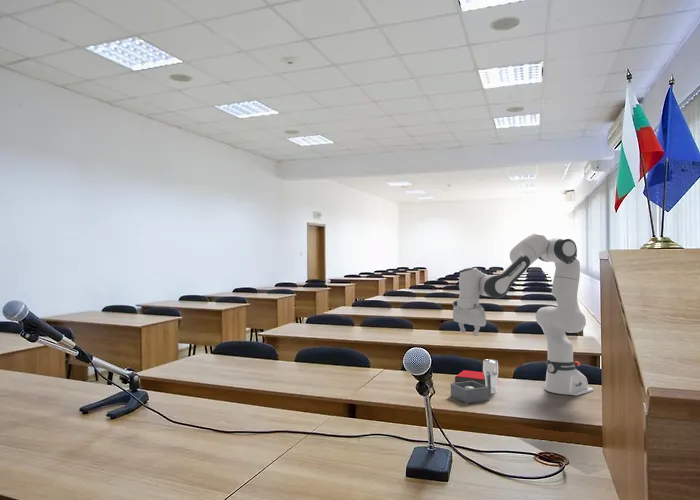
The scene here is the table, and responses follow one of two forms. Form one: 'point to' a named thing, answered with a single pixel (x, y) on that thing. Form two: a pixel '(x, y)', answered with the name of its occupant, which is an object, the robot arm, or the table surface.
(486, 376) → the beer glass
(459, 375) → the red device housing
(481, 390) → the bin
